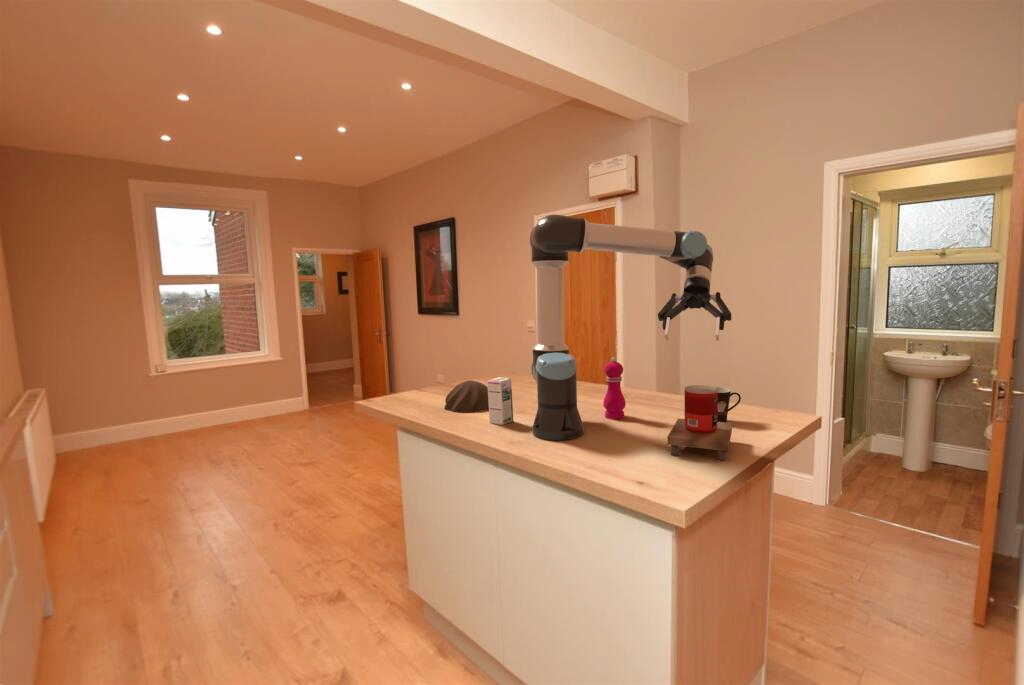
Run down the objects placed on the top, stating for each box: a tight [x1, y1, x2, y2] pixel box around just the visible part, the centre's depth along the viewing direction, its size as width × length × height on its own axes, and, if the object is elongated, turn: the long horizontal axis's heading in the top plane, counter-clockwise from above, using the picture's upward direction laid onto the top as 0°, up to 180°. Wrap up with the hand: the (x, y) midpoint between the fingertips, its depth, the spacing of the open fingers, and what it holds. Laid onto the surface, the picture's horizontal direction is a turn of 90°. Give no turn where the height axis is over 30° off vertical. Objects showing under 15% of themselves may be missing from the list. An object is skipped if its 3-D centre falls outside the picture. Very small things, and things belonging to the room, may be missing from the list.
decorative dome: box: [443, 379, 489, 413], centre depth 183 cm, size 19×20×10 cm
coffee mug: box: [714, 386, 742, 423], centre depth 150 cm, size 12×9×10 cm
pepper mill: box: [602, 356, 627, 420], centre depth 159 cm, size 7×7×20 cm
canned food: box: [684, 384, 718, 433], centre depth 126 cm, size 8×8×11 cm
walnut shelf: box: [666, 418, 733, 462], centre depth 126 cm, size 14×18×5 cm
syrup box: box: [486, 376, 514, 426], centre depth 158 cm, size 6×6×14 cm
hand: (691, 337), depth 138 cm, fingers open, 13 cm apart
